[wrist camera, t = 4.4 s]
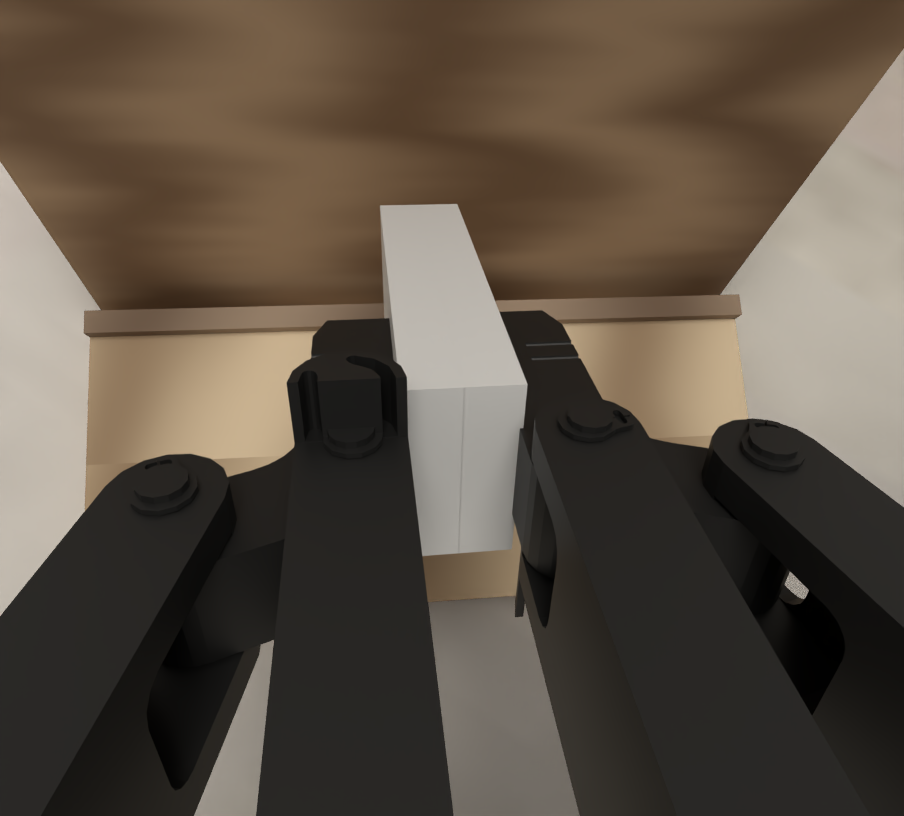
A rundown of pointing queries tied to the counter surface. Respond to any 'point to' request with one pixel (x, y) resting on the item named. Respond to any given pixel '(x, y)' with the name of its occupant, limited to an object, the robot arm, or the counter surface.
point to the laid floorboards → (292, 327)
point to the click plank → (422, 137)
